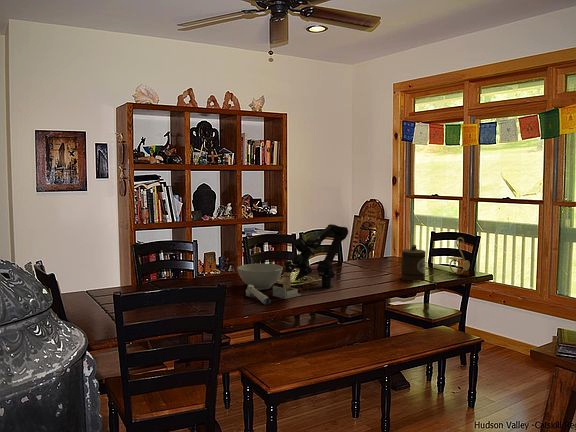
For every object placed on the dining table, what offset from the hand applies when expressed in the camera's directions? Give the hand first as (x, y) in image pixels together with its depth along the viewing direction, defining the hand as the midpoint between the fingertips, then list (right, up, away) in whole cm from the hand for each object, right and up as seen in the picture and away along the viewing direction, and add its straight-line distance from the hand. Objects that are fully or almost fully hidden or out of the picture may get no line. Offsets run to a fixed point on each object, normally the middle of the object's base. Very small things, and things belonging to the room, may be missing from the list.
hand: (289, 279), depth 282 cm
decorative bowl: (-17, -7, +20) cm, 27 cm away
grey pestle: (-17, -10, -9) cm, 22 cm away
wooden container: (+80, -5, +45) cm, 92 cm away
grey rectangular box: (-2, -9, -1) cm, 9 cm away
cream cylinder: (-2, -8, -1) cm, 9 cm away
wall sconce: (+113, -4, +59) cm, 128 cm away
